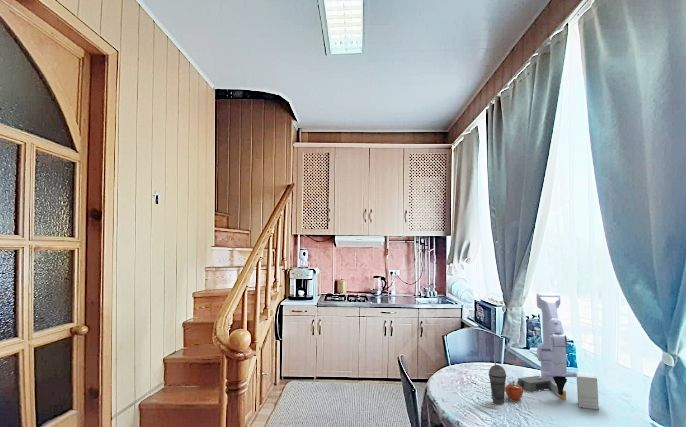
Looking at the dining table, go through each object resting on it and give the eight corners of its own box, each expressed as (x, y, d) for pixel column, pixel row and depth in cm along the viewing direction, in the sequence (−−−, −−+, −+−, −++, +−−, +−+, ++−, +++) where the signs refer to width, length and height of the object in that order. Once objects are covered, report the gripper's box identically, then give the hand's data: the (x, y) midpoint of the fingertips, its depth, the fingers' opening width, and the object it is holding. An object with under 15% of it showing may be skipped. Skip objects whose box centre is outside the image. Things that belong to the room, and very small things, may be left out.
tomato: (505, 401, 194) (504, 382, 194) (505, 395, 201) (504, 377, 201) (523, 403, 191) (523, 383, 192) (523, 397, 198) (522, 378, 199)
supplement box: (597, 404, 189) (595, 373, 190) (599, 410, 182) (597, 378, 183) (577, 401, 192) (576, 371, 193) (578, 407, 185) (576, 376, 186)
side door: (550, 388, 208) (550, 381, 208) (552, 388, 208) (552, 381, 208) (563, 399, 193) (563, 391, 194) (566, 399, 193) (566, 391, 194)
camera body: (539, 384, 216) (538, 374, 216) (552, 389, 208) (551, 379, 209) (516, 387, 212) (516, 377, 212) (528, 392, 204) (528, 382, 205)
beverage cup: (505, 406, 187) (503, 357, 188) (487, 403, 191) (485, 355, 192) (509, 401, 193) (507, 353, 195) (491, 398, 197) (490, 351, 198)
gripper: (545, 364, 193) (547, 397, 192) (580, 364, 192) (582, 397, 191) (539, 360, 200) (540, 391, 199) (572, 360, 199) (574, 391, 198)
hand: (560, 394), depth 195 cm, fingers closed
